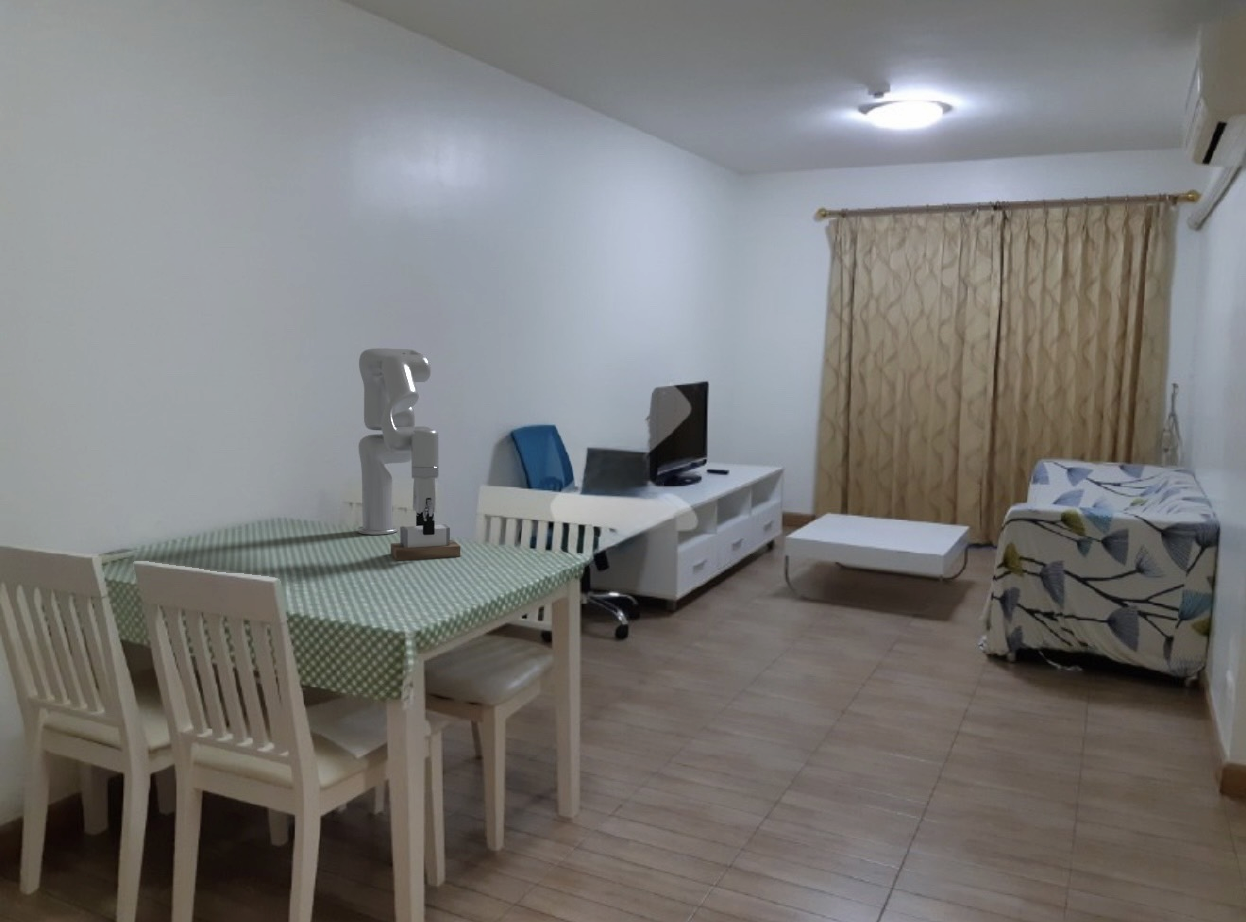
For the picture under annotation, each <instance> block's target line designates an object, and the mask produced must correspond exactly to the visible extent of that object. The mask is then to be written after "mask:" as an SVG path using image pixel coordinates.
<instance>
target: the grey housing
mask: <svg viewBox="0 0 1246 922" xmlns="http://www.w3.org/2000/svg"><path fill="white" fill-rule="evenodd" d="M399 529H400V530H399V531H400V532H399V533H400V542H399V543H400V544H401V545H402V546H403V547H404V548H411V547H428V546H445V545H446V546H449V545H450V540H451V527H449V526H448V525H447V524H435V534H434V535H423V526H416V525H407V526H403V525H402V526H399Z"/></svg>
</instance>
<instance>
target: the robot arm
mask: <svg viewBox="0 0 1246 922" xmlns="http://www.w3.org/2000/svg"><path fill="white" fill-rule="evenodd" d="M358 368H359V369H358V370H359V373H360V377H361V379H362V384H363V390H364V391H363V422H364V425H365V428H367V429H368V430H371V431H381V432H382V434H379V433H377V434H368V435H365V436H364V437H362V438H361V439H360V440H359V442H358V455H359V461H360V467H361V468H360V469H361V500H362V503H361V505H362V506H361V507H362V509H361V510H362V513H361V514H362V516H361V517H362V520H361V521H362V523H361V524H362V525H361V526H360V527H357V533H358V534H362V535H368V536H369V535H372V536H374V535H375V536H376V535H379V536H380V535H391V534H394V533H396V532H398V526H395V525H394V524H393V523H394V521H393V512H394V511H393V510H394V509H393V477H392V476H393V475H392V474H391V473H390V471H389V470H388V469H387V468H386V466H385V465H388V464H404V463H409V462H410V461H411V479H413V486H412V487H413V489H412V490H413V491H412V509H413V511H415V512H416V513H415V514H416V515H415V522H416V523H415V526H423V535H434V534H435V525H436V524H435V523H436V522H435V512H436V506H437V505H436V504H437V501H436V499H437V497H436V493H437V492H436V479H438V478H439V432H438V431H437V430H435V429H431V428H430V427H429V426H415V422H416V421H415V420H416V417H415V410H414V408H413V407H414V406H415V405H416V404H417V403H418V401H419V398H420V397H419V396H420V395H419V392H418V389H417V385H416V383H425V382H427V381H428V380H430V377H431V365H430V362H429V360H428V359H427V357H426V356H425V355H424V354H423V353H420V352H418V351H417V350H413V349H408V348H382V347H381V348H380V347H379V348H368V349H365V350H363V351H362V352H361V353H360V355H359V360H358Z"/></svg>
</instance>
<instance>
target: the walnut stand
mask: <svg viewBox="0 0 1246 922" xmlns="http://www.w3.org/2000/svg"><path fill="white" fill-rule="evenodd" d="M390 555H391V556H392V557H393V558H394V559H395V561H408V560H409V561H413V560H422V559H423V560H427V559H441V558H443V559H445V558H457V557H461V545H460V544H458V543H457V542H456V541H454V540H453V539H450V545H449V546H446V545H445V546H428V547H411V548H404V547H403V546H402V545H401V544H400V542H394V543H393V542H392V543H390Z"/></svg>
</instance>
